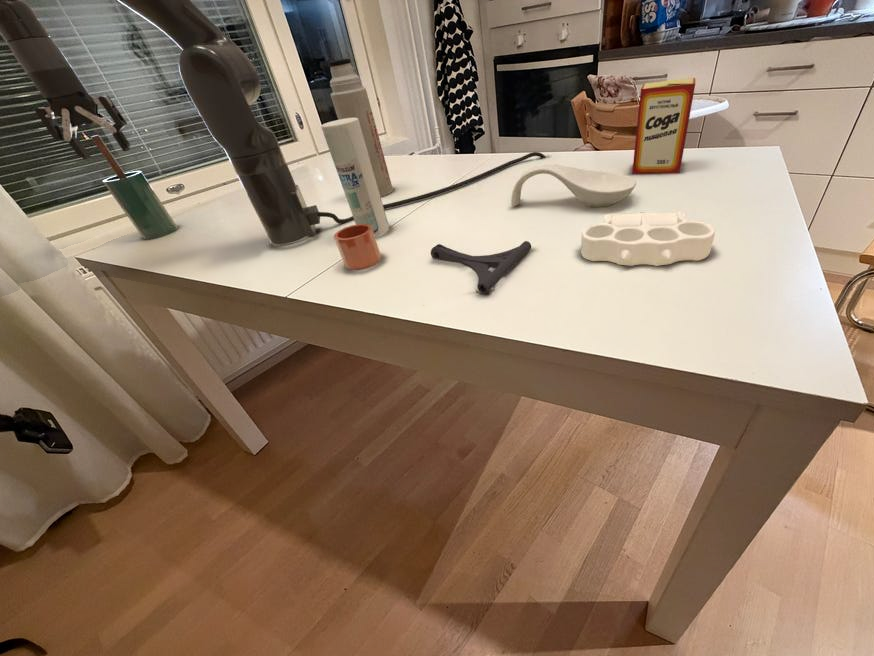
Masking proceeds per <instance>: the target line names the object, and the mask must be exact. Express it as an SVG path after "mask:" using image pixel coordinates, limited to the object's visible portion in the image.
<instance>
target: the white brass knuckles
mask: <svg viewBox="0 0 874 656" xmlns="http://www.w3.org/2000/svg"><path fill="white" fill-rule="evenodd" d="M715 235H716V230H715V228H714V226H712V225H711V224H709V223H707V222H702V221H698V220H689V219H687V218H686V217H685V213H684V212H682V211H681V210H678V211H675V212H657V213H656V212H654V213H647V212H640V213H626V214H625V213H623V214H612V213H607V214H605V215H604V222H602V223H596V224H593V225H590V226H587V227H586V228H584V229H583V230H582V232H581V239H580V253H581V254H580V255H581V256H582V257H583V258H584V259H586V260H587V261H589V262H600V261H601V262H611V263H614V264H616V265H619V266H620V265H621V266H628V267H632V266H639V265H649V266H655V267H657V266H659V267H660V266H666V265H671V264H675V263H677V262H681V261H695V262H697V261H703V260H704V259H706V258H707V257H708V256H709V255H710V254H711V250H712V247H713V242H714V239H715Z"/></svg>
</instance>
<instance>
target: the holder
mask: <svg viewBox="0 0 874 656" xmlns="http://www.w3.org/2000/svg"><path fill="white" fill-rule="evenodd" d="M333 238H334V241H335V244H336V246H337V249H338V252H339V255H340V256H341V260H342V261H343V265H344V267H345V268H346V269H348V270H352V271H358V270H364V269H365V270H366V269H368V268H371V267H373V266H375V265H377V264H378V263H379V262H380V261H381V260H382V254H381V250H380V247H379V244H378V242H377V238H376V236H375V235H374V232H373V229H372V226H371V225H368V224H351V225H349V226H346V227H345V226H344V227H343V228H340V229H339V230H337V231H336V232H335V233H334V234H333Z"/></svg>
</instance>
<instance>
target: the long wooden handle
mask: <svg viewBox="0 0 874 656" xmlns="http://www.w3.org/2000/svg"><path fill="white" fill-rule="evenodd" d="M90 139H91V140H92V142H93V143H94V145H95V146H96V148H97V149H98V150H99V152H100V153H101V154H102V156H103V157H104V159H105V161H106V162H107V163H108V165H109V166H110V168H111V169H112V171H113V172H114V174H115V176H118V178H119V179H121V178H125V177H127V176H126V175H125V173H126V172H124V170H123V169H122V167H121V166H120V164H119V163H118V161H117V160H116V159H115V157H114V155H113V154H112V152H111V151H110V150H109V148H108V147H107V145H106V144H105V142H104V141H103V139H102V138H101V136H100V135H99V134H96V135H92V136H90Z"/></svg>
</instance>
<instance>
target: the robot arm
mask: <svg viewBox="0 0 874 656" xmlns="http://www.w3.org/2000/svg"><path fill="white" fill-rule="evenodd" d="M117 1H118V2H119V3H121V4H122V5H123V6H125V7H126V8H127V9H130V10H131V11H133V12H134V13H135V14H137V15H139V16H140V17H142V18H143V19H144V20H146V21H148V22H149V23H150V24H152V25H153V26H155V27H156V28H157V29H159V30H160V31H161V32H163V33H164V34H165V35H166V36H167V37H168V38H170V40H172V41H173V42H174V43H175V44H176V45H177V46H178V47H179V48H180V49H181V52H180V54H179V57H178V69H179V70H178V71H179V74H180V79H181V80H182V83H183V85H184V87H185V90H186V92H187V94H188V96H189V97H190V99H191V101H192V103H193V105H194V107H195V108H196V110H197V112H198V114H199V116H200V118H201V119H202V121H203V123H204V125H205V126H206V128H207V130H208V132H209V133H210V135H211V137H212V138H213V139H214V140H215V142H216V143H217V144H218V145H219V146H220V147H221V148H222V149H223V151H224V152H225V155H226V156H227V157H228V160H229V162H230V163H231V166H232V168H233V169H234V172H235V174H236V176H237V178H238V179H239V182H240V184H241V185H242V188H243V189H244V191H245V193H246V196H247V197H248V200H249V202H250V204H251V205H252V207H253V209H254V212H255V213H256V216H257V217H258V219H259V222H260V224H261V225H262V227H263V229H264V231H265V233H266V235H267V237H268V239H269V242H270V244H271V246H273V247H287V246H292V245H296V244H299V243H301V242H304V241H306V240H308V239H311V238H314V237H315V236H316V234H317V226H316V225H319V224H321V218H323V217H324V218H331V219H333V221H334V222H335V223H337V224H340V225H341V224H346V223H350V222H352V221H354V218H353V215H352V216H350V217H347V218H339V217H338V216H337V215H336V214H335V213H332V212H328V211H320V210H319V208H318V206H317V205H316V204H314V205H311V206H307V203H306V200H305V198H304V196H303V194H302V191H301V189H300V187H299V185H298V184H297V183H296V182H295V180H294V177H293V175H292V172H291V171H290V167H289V166H288V164H287V161H286V158H285V156H284V153H283V152H282V151H283V150H282V149H281V147H280V144H279V142H278V140H277V139H278V138H277V137H276V135H275V133H274V131H273V130H272V129H270V128H269V127H266V126H264V125H262V124H261V123H260V122H259V121H258V120H257V118H256V116H255V115H254V112H253V111H252V108H251V106H250V105H252V104H253V103H255V102H256V101H257V100H258V99H259V97H260V95H261V81H260V77H259V74H258V71H257V70H256V68H255V66H254V64H253V62H252V61H251V59H250V58H249V57H248V55H246V54H245V53H244V51H243V50H242V49H241V48H240V47H239V46H238V45H237V44H236V43H235V42H234V41H233V40H232V39H231V38H230V37H229V36H228V35H226V33H224V32H223V31H222V30H221V29H220V28H219V27H218V26H217V25H216V24H215V22H213V21H212V20H211V19H210V18H209V17H208V16H207V15H206V14H204V13H203V11H202V10H200V9H199V7H197V5H196V4H195V3H194V2H193V1H192V0H117ZM0 36H1V38H2V39H3V40H4V41H5V43H6V44H7V46H8V47H9V49H10V51H11V52H12V54H13V56H14V57H15V59H16V60H17V62H18V63H19V65H20V68H21V69H22V70H23V71H24V72H25V74H26V75H27V76H28V77H29V79H30V80H31V81H32V83H33V85H34V86H35V87H36V88H37V90H38V91H39V92H40V95H42V97H43V98H44V99H45V100H46V101H47V102H48V107H45V106H40V107H39V106H38V107H35V108H34V112H35V113H36V115H37V117H38V118H39V120H40V121H41V123H42V124H43V125H44V127H45V128H46V130H47V131H48V133H49V134H50V135H51V137H52V138H53V139H54V140H55V141H65V142H67V143H68V144H69V145H70V147H71V148H72V149H73V151H74V153H76V155H77V156H78V157H79V158H82V160H85V161H86V160H89V159H91V158H92V155H91V154H90V153H89V151H88V150H87V148H86V147H85V146H84V144H83V143H82V142H81V141H80V139H77V131H78V127H82V126H85V125H92V124H97V125H98V126H102V127H103V128H105V129H106V130H108V131H110V132H111V135H112V136H113V138H114V140H115V141H116V143H117V144H118V145H119V147H120V148H121V150H122V151H123V152H129V151H130V150H131V148H130V147H131V143H130V142H129V141H128V139H127V137H126V136H125V134H124V133H123V129H124V128H125V127H127V126H128V122H127V121H126V119H125V118H124V116H123V115H122V113H121V112H120V110H119V109H118V107H117V106H116V105H115V103H114V102H113V100H112V99H111V98H110V96H109V95H100V96H98V97H96V98H94V97H93V96H91V94H90V93H89V92H88V89H87V88H86V86H84V85H85V84H83V82H82V81H81V79H80V78H79V76H78V74H77V72H76V71H75V70H74V68H73V67H72V65H71V64H70V62H69V61H68V59H67V58H66V56H65V54H64V53H63V52H62V50H61V49H60V47H59V46H58V45H57V44H56V42H55V41H54V40H53V39H52V37H51V36H50V34H49V32H48V31H47V29H46V28H45V26H44V24H43V23H42V22H41V20H40V19H39V17H38V16H37V14H36V13H35V11H34V10H33V8H32V7H31V6H30V5H29V4H28V3H27V2H26V1H24V0H0ZM99 106H100V107H101V108H102V109H104V110H105V111H106V112H107V114H108V115H109V117H110V118H111V119H112V120H111V119H110V118H109V117H107V116H106V115H104V114H103V113H101V112H99ZM55 115H56V116H58V117H59V118H61V127H60V125H59V124H58V122H57V120H56V119H55V118H56V117H55ZM532 157H539V158H541V159H546V158H547V156H546V155H545V154H543V153H541V152H539V151H533V152H529V153H527V154H525V155H523V156H521V157H519V158H518V157H517V158H515V159H512V160H509V161H507V162H504V163H503V164H500V165H498V166H495V167H494V168H491V169H489V170H487V171H484V172H482V173H479V174H477V175H475V176H472V177H470V178H467V179H465V180H463V181H460V182H457V183H454V184H451V185H449V186H446V187H442V188H440V189H437V190H434V191H430V192H427V193H424V194H420V195H416V196H412V197H410V198H409V197H408V198H405V199H402V200H397V201H393V202H389V203H386V204H383V207H384V210H386V209H387V210H388V209H391V208H395V207H399V206H403V205H407V204H411V203H415V202H419V201H422V200H425V199H428V198H432V197H436V196H438V195H441V194H444V193H448V192H450V191H452V190H456V189H458V188H461V187H464V186H466V185H468V184H471V183H474V182H476V181H479V180H480V179H483V178H485V177H487V176H490V175H492V174H494V173H497V172H499V171H501V170H503V169H506V168H507V167H510V166H512V165H516V164H518V163H521V162H524V161H525V160H527V159H531V158H532Z"/></svg>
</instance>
